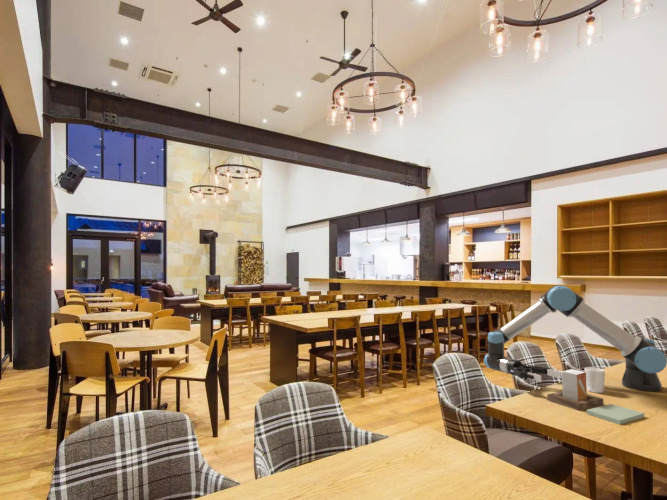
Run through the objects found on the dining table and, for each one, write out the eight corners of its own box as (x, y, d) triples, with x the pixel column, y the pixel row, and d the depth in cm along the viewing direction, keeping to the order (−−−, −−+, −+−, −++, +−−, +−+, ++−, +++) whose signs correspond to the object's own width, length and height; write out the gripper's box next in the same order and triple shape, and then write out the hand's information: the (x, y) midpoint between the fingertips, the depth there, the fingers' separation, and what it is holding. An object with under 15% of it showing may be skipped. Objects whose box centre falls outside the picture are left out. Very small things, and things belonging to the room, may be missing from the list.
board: (611, 407, 161) (610, 403, 161) (644, 417, 150) (644, 413, 150) (586, 413, 154) (586, 409, 154) (619, 424, 143) (619, 420, 143)
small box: (578, 406, 163) (577, 374, 163) (562, 402, 168) (561, 371, 169) (587, 402, 167) (586, 371, 168) (571, 398, 172) (570, 368, 173)
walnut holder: (571, 395, 177) (570, 389, 177) (603, 404, 165) (603, 398, 165) (547, 400, 170) (547, 394, 170) (579, 410, 158) (579, 404, 158)
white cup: (605, 390, 184) (604, 368, 185) (605, 394, 178) (605, 372, 178) (585, 387, 189) (584, 366, 189) (585, 391, 182) (584, 369, 182)
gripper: (529, 371, 202) (569, 382, 183) (493, 377, 191) (532, 389, 172) (528, 356, 202) (568, 365, 183) (493, 361, 192) (531, 371, 172)
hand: (551, 377), depth 178 cm, fingers open, 13 cm apart
